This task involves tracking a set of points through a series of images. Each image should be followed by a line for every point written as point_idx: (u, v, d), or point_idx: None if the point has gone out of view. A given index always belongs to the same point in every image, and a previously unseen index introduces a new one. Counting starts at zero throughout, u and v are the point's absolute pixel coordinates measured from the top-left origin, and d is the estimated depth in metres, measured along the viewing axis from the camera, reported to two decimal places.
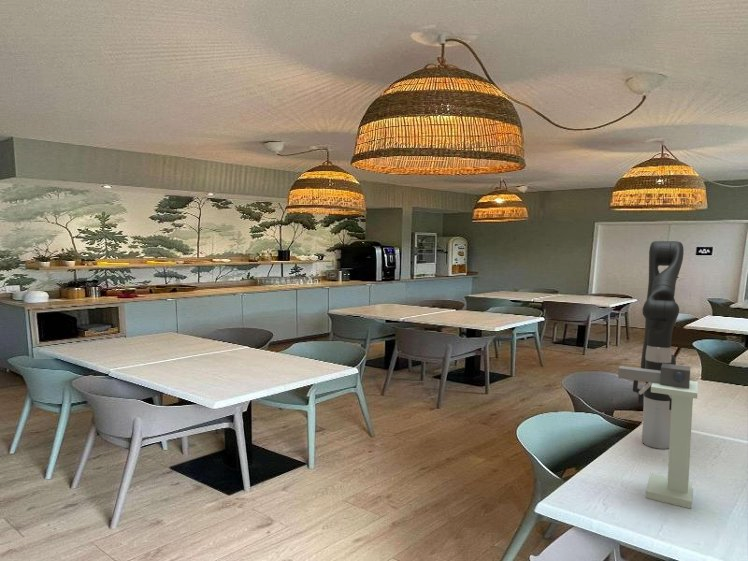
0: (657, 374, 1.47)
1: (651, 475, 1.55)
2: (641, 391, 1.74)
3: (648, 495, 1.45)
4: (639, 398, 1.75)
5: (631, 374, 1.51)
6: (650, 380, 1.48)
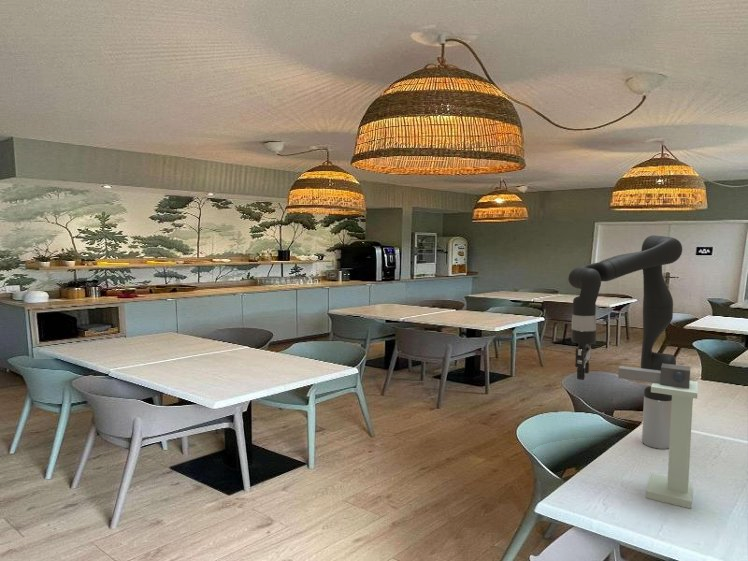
0: (657, 374, 1.47)
1: (651, 475, 1.55)
2: (584, 365, 1.66)
3: (648, 495, 1.45)
4: (582, 373, 1.66)
5: (631, 374, 1.51)
6: (650, 380, 1.48)
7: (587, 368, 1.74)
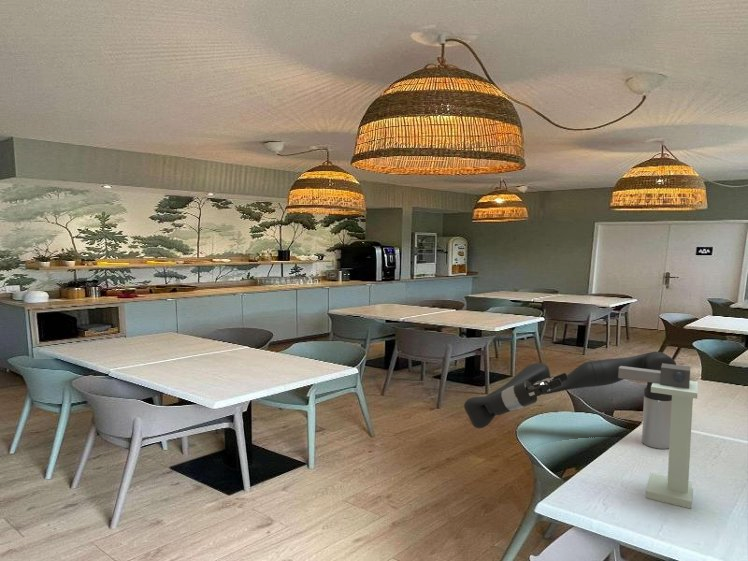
0: (657, 374, 1.47)
1: (651, 475, 1.55)
2: (544, 383, 1.62)
3: (648, 495, 1.45)
4: (552, 382, 1.60)
5: (631, 374, 1.51)
6: (650, 380, 1.48)
7: (560, 375, 1.67)
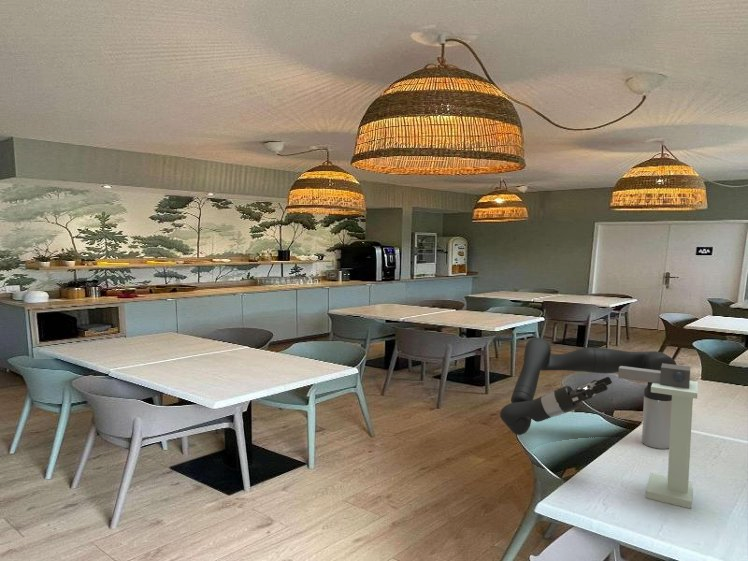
0: (657, 374, 1.47)
1: (651, 475, 1.55)
2: (588, 388, 1.54)
3: (648, 495, 1.45)
4: (597, 387, 1.52)
5: (631, 374, 1.51)
6: (650, 380, 1.48)
7: (603, 379, 1.60)
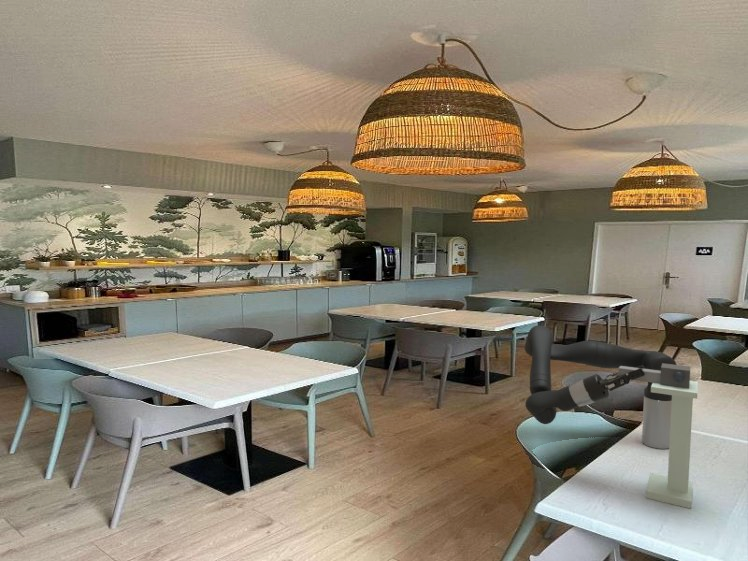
0: (657, 374, 1.47)
1: (651, 475, 1.55)
2: (624, 374, 1.51)
3: (648, 495, 1.45)
4: (633, 372, 1.49)
5: None
6: (650, 380, 1.48)
7: None
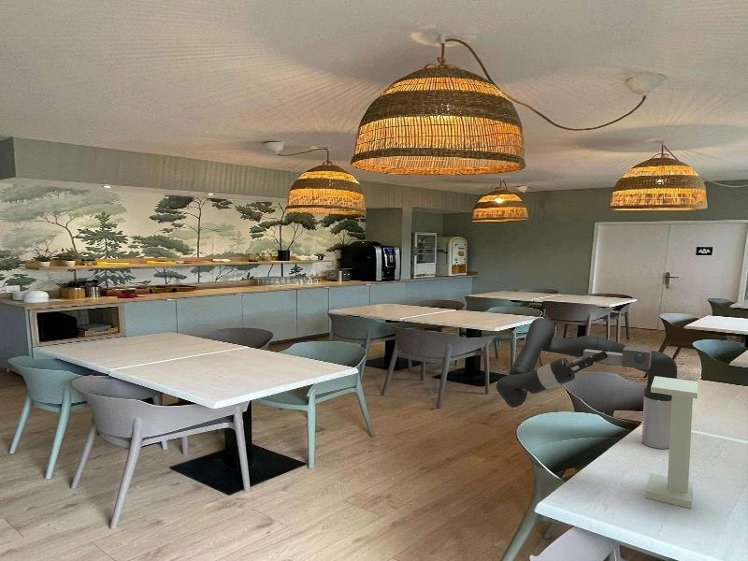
0: (619, 356, 1.52)
1: (651, 475, 1.55)
2: None
3: (648, 495, 1.45)
4: (597, 355, 1.54)
5: None
6: (613, 362, 1.53)
7: None
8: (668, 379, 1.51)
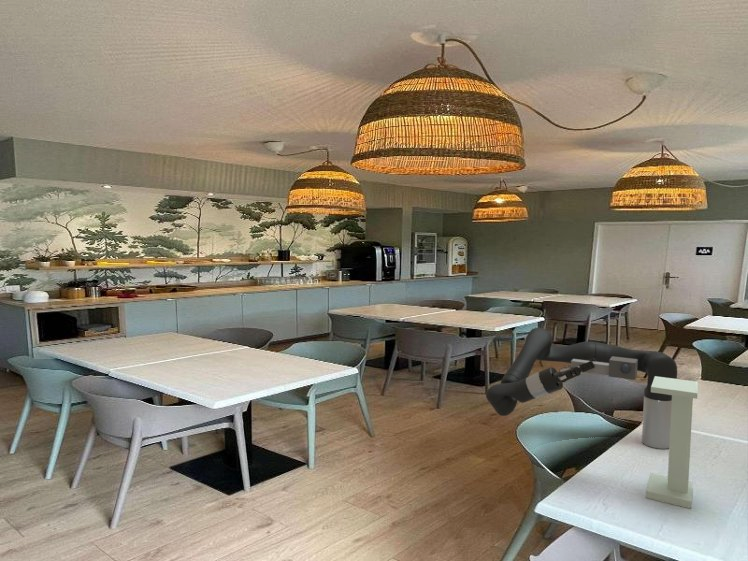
0: (606, 366, 1.54)
1: (651, 475, 1.55)
2: None
3: (648, 495, 1.45)
4: (584, 365, 1.57)
5: None
6: (600, 372, 1.55)
7: (589, 361, 1.60)
8: (668, 379, 1.51)
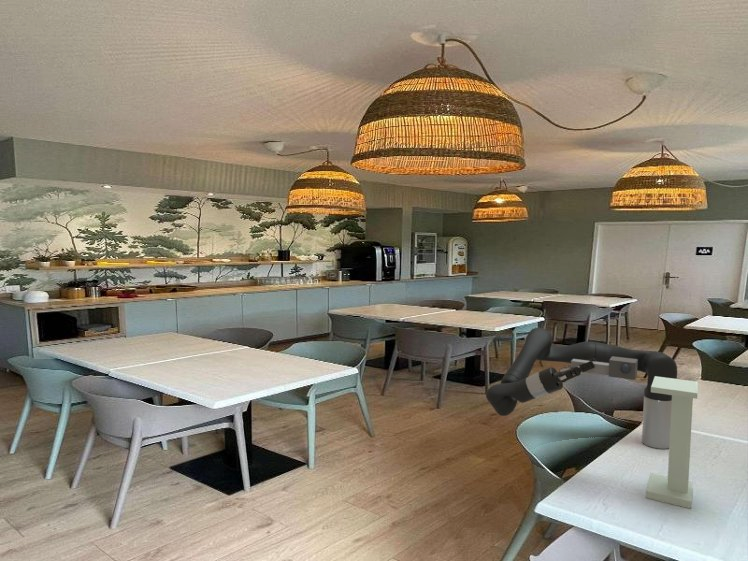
0: (606, 366, 1.54)
1: (651, 475, 1.55)
2: None
3: (648, 495, 1.45)
4: (584, 365, 1.57)
5: None
6: (600, 372, 1.55)
7: (589, 361, 1.60)
8: (668, 379, 1.51)
